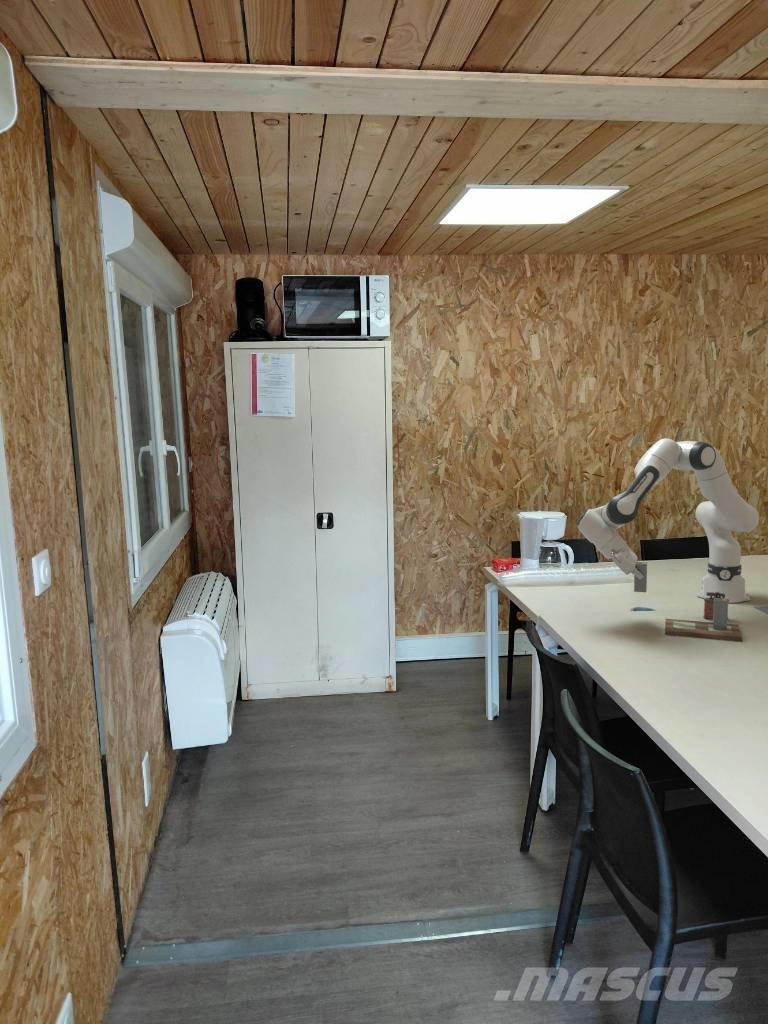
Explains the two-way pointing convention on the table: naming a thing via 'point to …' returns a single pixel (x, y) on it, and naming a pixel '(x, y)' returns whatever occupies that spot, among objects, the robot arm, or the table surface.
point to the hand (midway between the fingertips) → (642, 576)
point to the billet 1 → (641, 584)
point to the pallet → (701, 630)
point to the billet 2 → (720, 614)
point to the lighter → (711, 604)
